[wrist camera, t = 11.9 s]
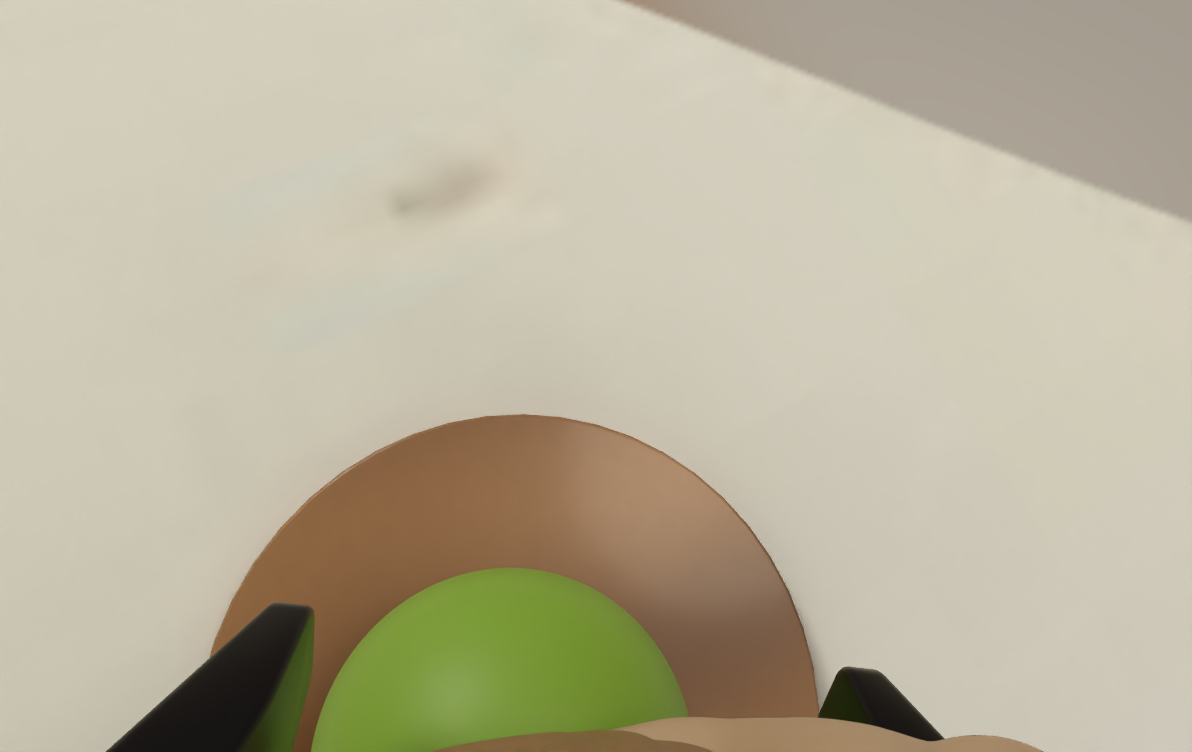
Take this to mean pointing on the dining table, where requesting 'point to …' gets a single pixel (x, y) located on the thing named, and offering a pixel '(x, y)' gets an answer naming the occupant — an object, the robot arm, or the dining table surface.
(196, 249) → the dining table surface
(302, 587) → the plate
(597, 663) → the snail figurine
